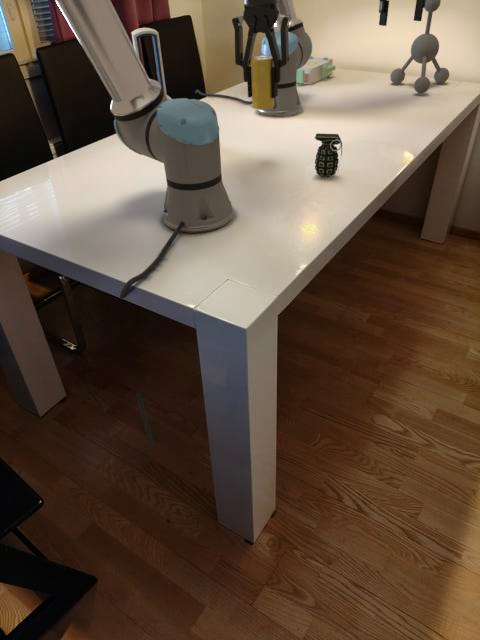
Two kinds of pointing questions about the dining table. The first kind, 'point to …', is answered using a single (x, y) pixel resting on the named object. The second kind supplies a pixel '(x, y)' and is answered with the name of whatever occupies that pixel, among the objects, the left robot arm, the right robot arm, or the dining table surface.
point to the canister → (261, 82)
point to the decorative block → (314, 70)
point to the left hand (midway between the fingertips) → (262, 96)
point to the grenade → (327, 155)
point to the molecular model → (424, 55)
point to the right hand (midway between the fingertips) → (400, 23)
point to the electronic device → (157, 51)
